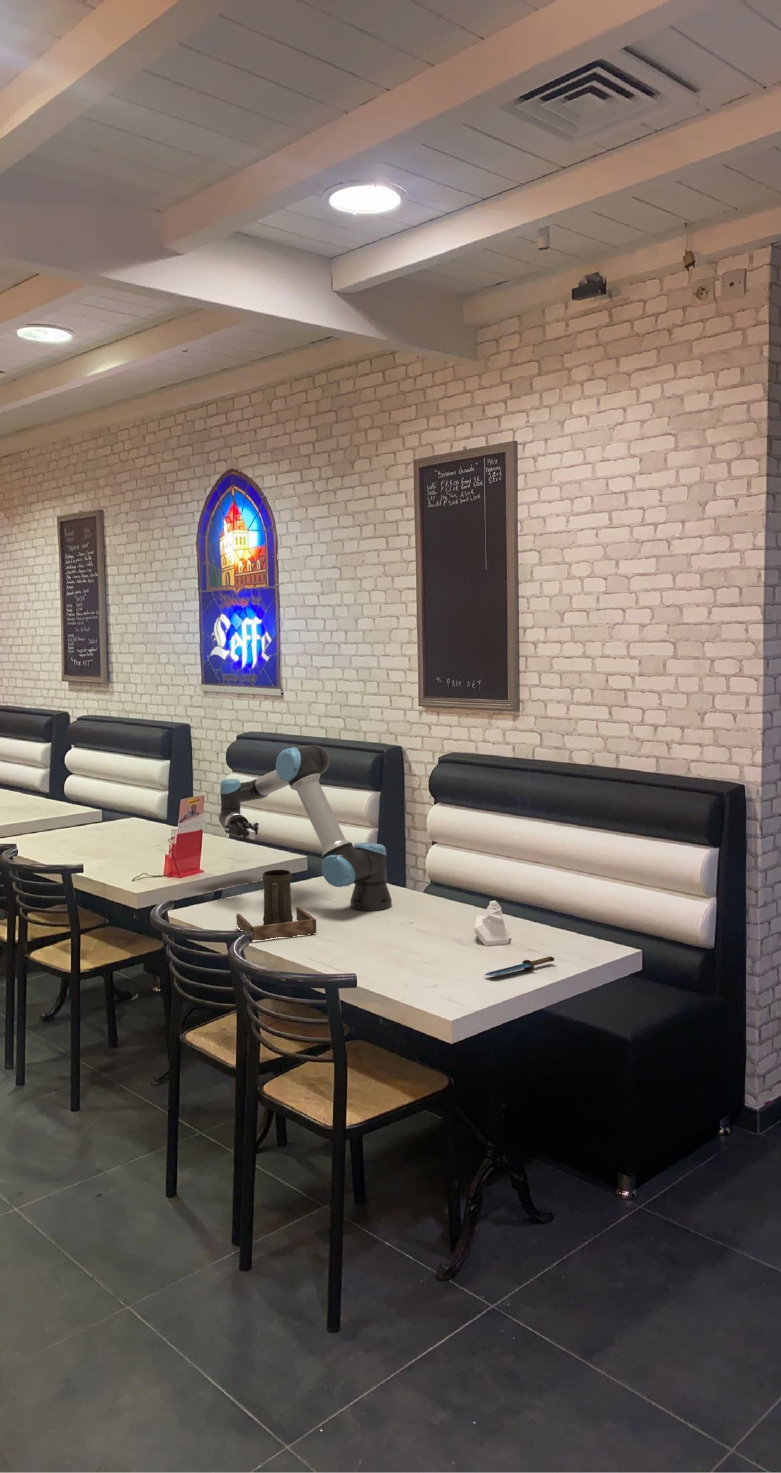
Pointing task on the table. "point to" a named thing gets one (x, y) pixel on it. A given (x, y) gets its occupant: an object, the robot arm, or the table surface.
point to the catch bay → (280, 927)
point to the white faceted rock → (492, 926)
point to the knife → (521, 966)
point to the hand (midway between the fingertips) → (253, 835)
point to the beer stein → (277, 897)
